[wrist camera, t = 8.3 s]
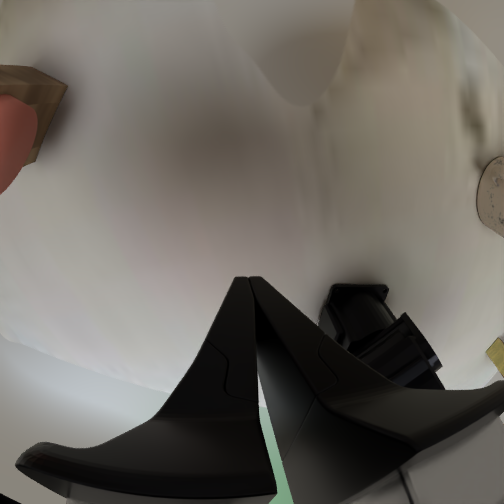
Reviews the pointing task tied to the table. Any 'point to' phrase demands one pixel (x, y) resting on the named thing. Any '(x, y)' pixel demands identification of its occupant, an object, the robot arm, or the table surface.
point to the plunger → (14, 137)
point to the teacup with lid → (492, 196)
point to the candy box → (497, 355)
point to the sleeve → (33, 97)
